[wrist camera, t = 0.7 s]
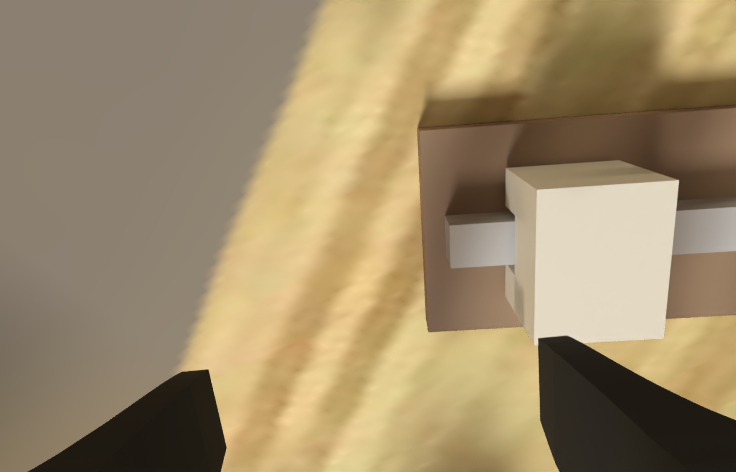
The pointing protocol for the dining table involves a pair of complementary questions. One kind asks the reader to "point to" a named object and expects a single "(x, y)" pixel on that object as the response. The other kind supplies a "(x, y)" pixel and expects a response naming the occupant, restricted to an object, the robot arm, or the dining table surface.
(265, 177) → the dining table surface
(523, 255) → the slider
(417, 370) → the dining table surface
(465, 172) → the rail board
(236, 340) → the dining table surface
